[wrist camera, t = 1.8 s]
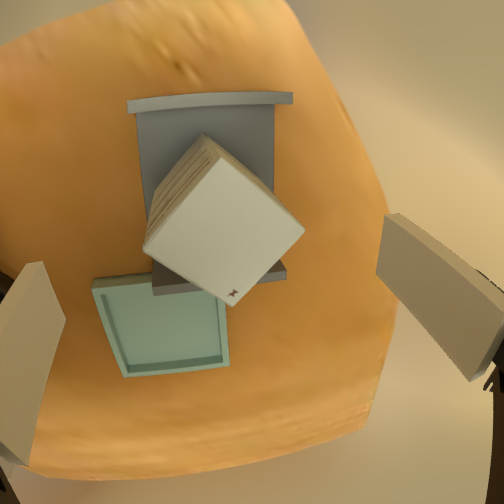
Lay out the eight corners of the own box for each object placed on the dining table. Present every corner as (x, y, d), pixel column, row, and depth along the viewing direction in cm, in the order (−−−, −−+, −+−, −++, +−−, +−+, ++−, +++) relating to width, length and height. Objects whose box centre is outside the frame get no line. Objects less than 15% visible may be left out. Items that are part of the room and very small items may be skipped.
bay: (155, 267, 33) (153, 296, 28) (135, 99, 25) (126, 100, 20) (271, 253, 35) (286, 279, 31) (273, 91, 27) (292, 92, 23)
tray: (124, 366, 38) (123, 377, 36) (94, 278, 31) (91, 288, 30) (227, 354, 41) (229, 365, 39) (220, 264, 34) (223, 274, 32)
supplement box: (260, 178, 31) (311, 232, 20) (210, 233, 32) (232, 312, 21) (203, 128, 27) (222, 153, 16) (151, 189, 29) (138, 253, 18)
